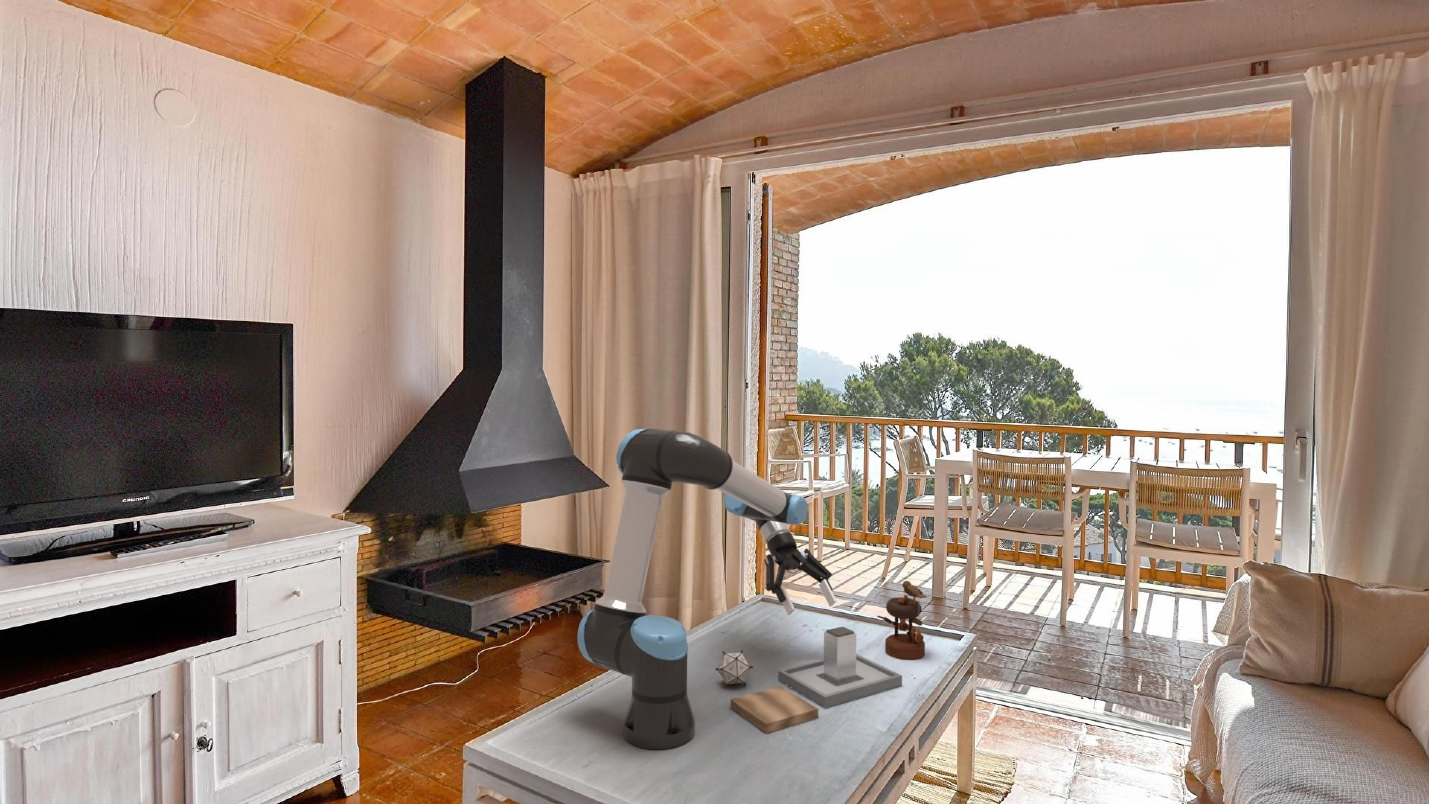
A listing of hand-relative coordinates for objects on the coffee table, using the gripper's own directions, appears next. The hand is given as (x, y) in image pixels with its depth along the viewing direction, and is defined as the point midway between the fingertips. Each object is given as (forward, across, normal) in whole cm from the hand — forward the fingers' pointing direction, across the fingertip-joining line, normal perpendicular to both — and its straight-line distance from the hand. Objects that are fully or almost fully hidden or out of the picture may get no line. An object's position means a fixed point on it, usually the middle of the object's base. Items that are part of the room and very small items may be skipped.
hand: (812, 608), depth 194 cm
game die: (+10, +23, -13) cm, 28 cm away
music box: (+14, -28, -9) cm, 33 cm away
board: (+22, +23, 0) cm, 32 cm away
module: (+19, 0, -4) cm, 19 cm away
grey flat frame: (+19, 0, -4) cm, 19 cm away
